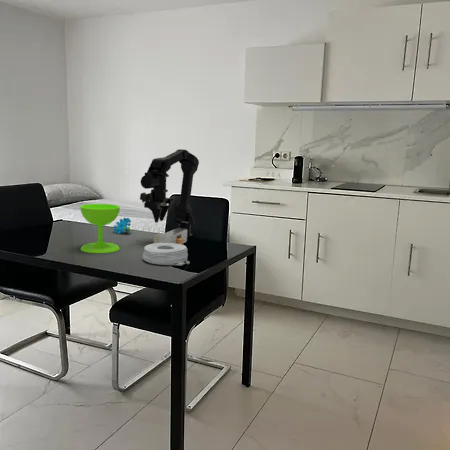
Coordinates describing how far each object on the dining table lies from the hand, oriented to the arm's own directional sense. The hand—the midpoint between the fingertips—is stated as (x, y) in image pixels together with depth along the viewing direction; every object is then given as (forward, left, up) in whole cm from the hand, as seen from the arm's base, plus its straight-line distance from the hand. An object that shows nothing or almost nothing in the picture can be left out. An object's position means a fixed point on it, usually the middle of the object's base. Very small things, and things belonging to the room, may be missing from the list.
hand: (158, 221), depth 204 cm
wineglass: (+21, -17, -10) cm, 29 cm away
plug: (0, +5, -10) cm, 11 cm away
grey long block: (0, +7, -10) cm, 13 cm away
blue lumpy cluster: (-13, -25, -10) cm, 30 cm away
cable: (+26, +15, -10) cm, 32 cm away
